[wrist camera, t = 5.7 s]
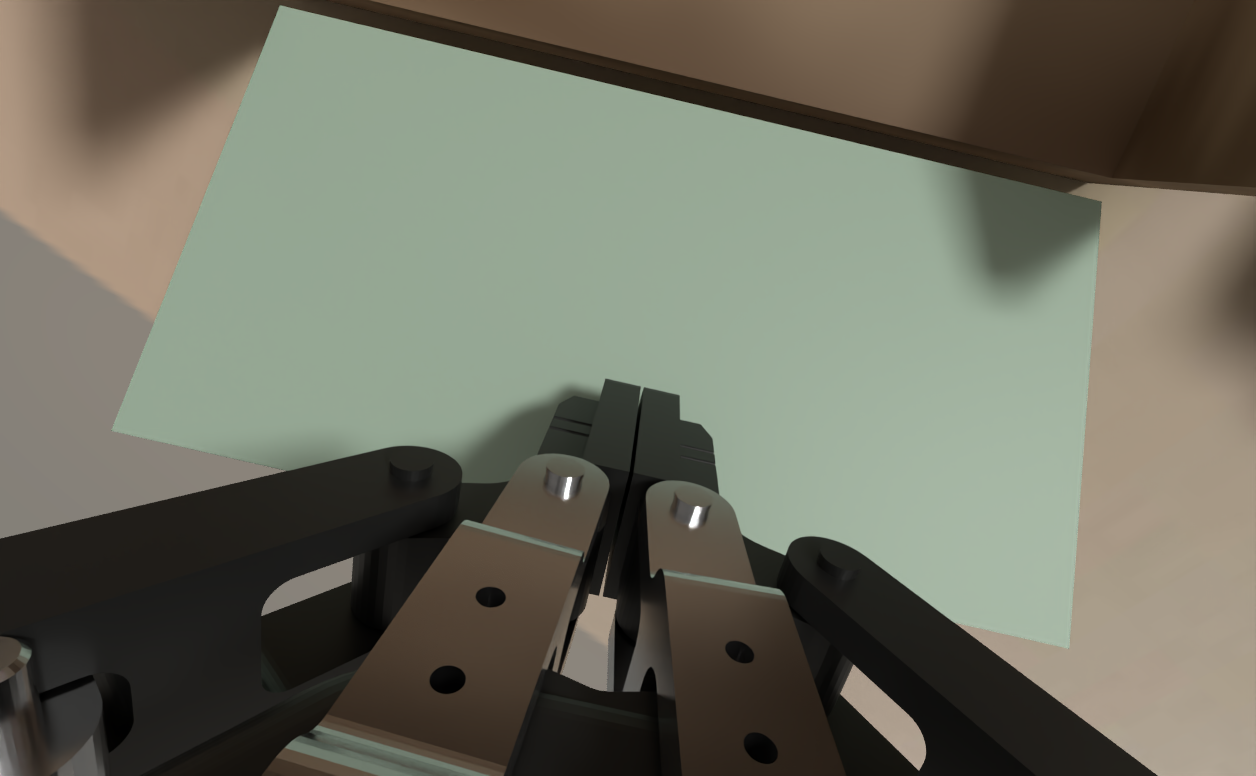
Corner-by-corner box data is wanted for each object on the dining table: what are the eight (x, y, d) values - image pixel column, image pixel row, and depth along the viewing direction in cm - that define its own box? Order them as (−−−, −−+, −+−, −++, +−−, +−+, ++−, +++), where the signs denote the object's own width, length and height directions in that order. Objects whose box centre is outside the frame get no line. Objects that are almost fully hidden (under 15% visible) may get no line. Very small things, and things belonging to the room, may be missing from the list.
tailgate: (280, 5, 15) (111, 431, 13) (1101, 201, 15) (1069, 648, 13) (316, 65, 17) (175, 443, 15) (1042, 238, 17) (1005, 631, 15)
